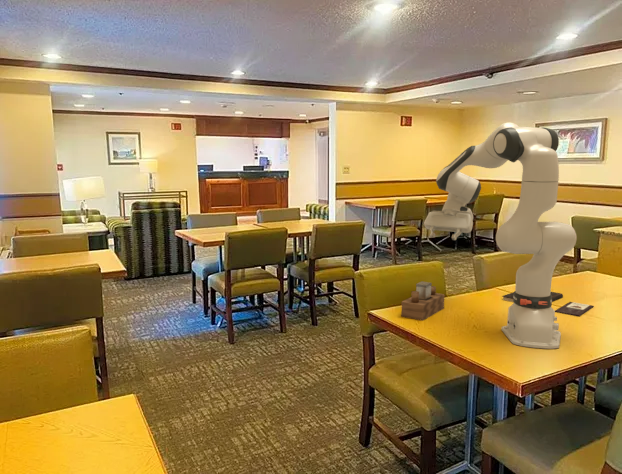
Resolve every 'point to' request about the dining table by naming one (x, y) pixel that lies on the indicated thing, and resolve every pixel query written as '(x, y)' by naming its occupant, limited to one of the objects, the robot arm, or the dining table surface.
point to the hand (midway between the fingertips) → (442, 237)
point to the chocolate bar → (574, 309)
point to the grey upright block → (424, 290)
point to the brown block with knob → (422, 305)
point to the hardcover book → (554, 295)
